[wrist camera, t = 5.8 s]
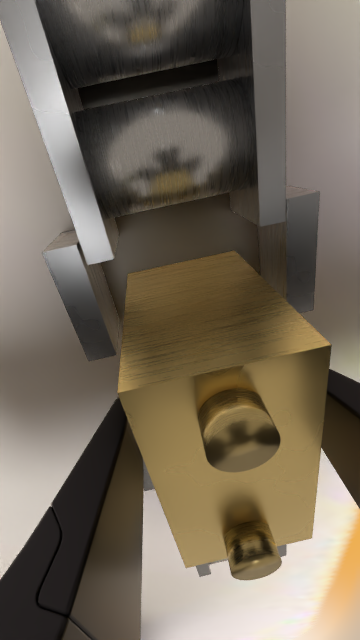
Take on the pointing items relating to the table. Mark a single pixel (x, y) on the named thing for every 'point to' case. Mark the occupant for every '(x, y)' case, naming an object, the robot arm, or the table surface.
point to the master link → (225, 408)
